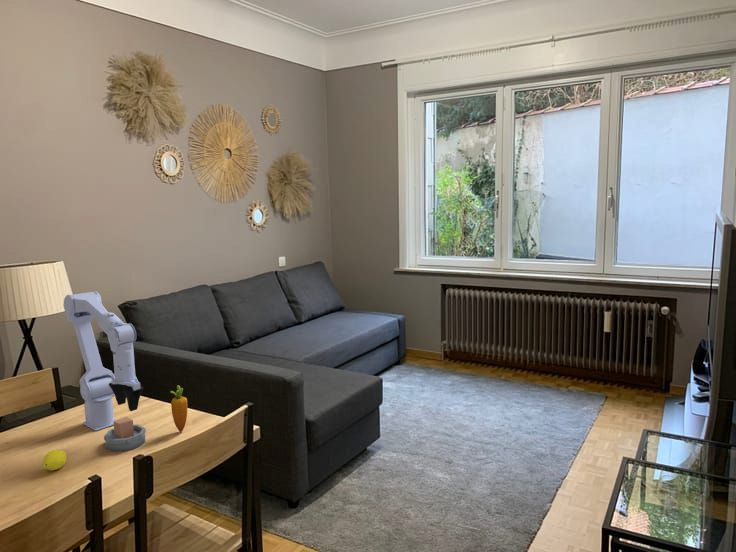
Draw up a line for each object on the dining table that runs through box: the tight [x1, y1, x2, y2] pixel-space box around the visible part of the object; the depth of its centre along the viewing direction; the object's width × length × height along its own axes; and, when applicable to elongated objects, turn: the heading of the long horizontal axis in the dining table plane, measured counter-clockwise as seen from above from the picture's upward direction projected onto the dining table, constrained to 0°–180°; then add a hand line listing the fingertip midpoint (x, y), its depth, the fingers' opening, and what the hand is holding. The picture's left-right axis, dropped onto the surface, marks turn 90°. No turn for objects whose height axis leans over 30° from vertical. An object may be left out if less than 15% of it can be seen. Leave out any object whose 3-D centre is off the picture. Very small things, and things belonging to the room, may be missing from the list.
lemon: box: [42, 449, 67, 471], centre depth 150 cm, size 7×5×5 cm
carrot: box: [169, 385, 188, 433], centre depth 172 cm, size 5×5×15 cm
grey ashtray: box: [103, 423, 147, 453], centre depth 166 cm, size 11×11×4 cm
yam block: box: [113, 416, 134, 439], centre depth 165 cm, size 4×4×5 cm
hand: (127, 406), depth 167 cm, fingers open, 7 cm apart
